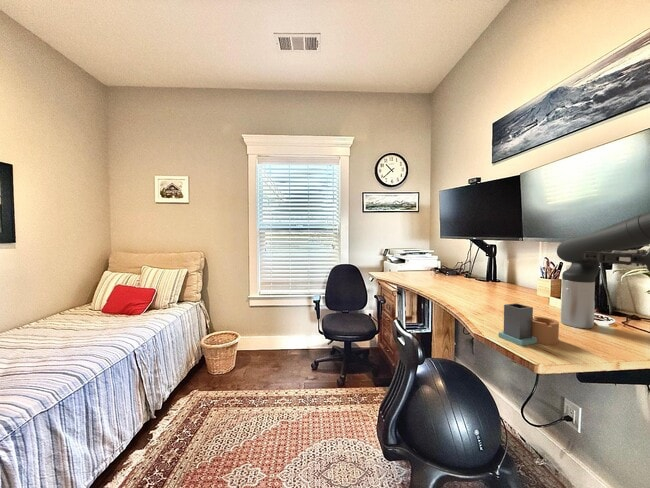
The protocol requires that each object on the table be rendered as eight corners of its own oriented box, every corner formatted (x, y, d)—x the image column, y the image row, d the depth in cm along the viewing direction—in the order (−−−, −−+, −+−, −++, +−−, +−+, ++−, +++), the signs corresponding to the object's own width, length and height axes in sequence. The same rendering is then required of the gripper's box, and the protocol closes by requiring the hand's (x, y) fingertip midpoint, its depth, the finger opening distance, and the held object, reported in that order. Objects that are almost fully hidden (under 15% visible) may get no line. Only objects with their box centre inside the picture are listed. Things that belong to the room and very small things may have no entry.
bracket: (565, 345, 87) (565, 324, 87) (537, 345, 88) (538, 324, 87) (527, 326, 105) (528, 308, 105) (505, 325, 106) (505, 308, 105)
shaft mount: (513, 334, 96) (513, 315, 96) (537, 342, 89) (537, 323, 89) (498, 336, 94) (498, 318, 94) (521, 346, 87) (521, 325, 86)
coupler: (515, 331, 95) (516, 303, 94) (532, 337, 90) (532, 307, 89) (503, 333, 93) (504, 304, 93) (519, 339, 88) (520, 309, 88)
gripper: (665, 280, 58) (575, 269, 73) (701, 275, 62) (609, 266, 78) (667, 244, 58) (576, 241, 73) (703, 243, 62) (610, 240, 77)
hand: (593, 254), depth 75 cm, fingers open, 8 cm apart
